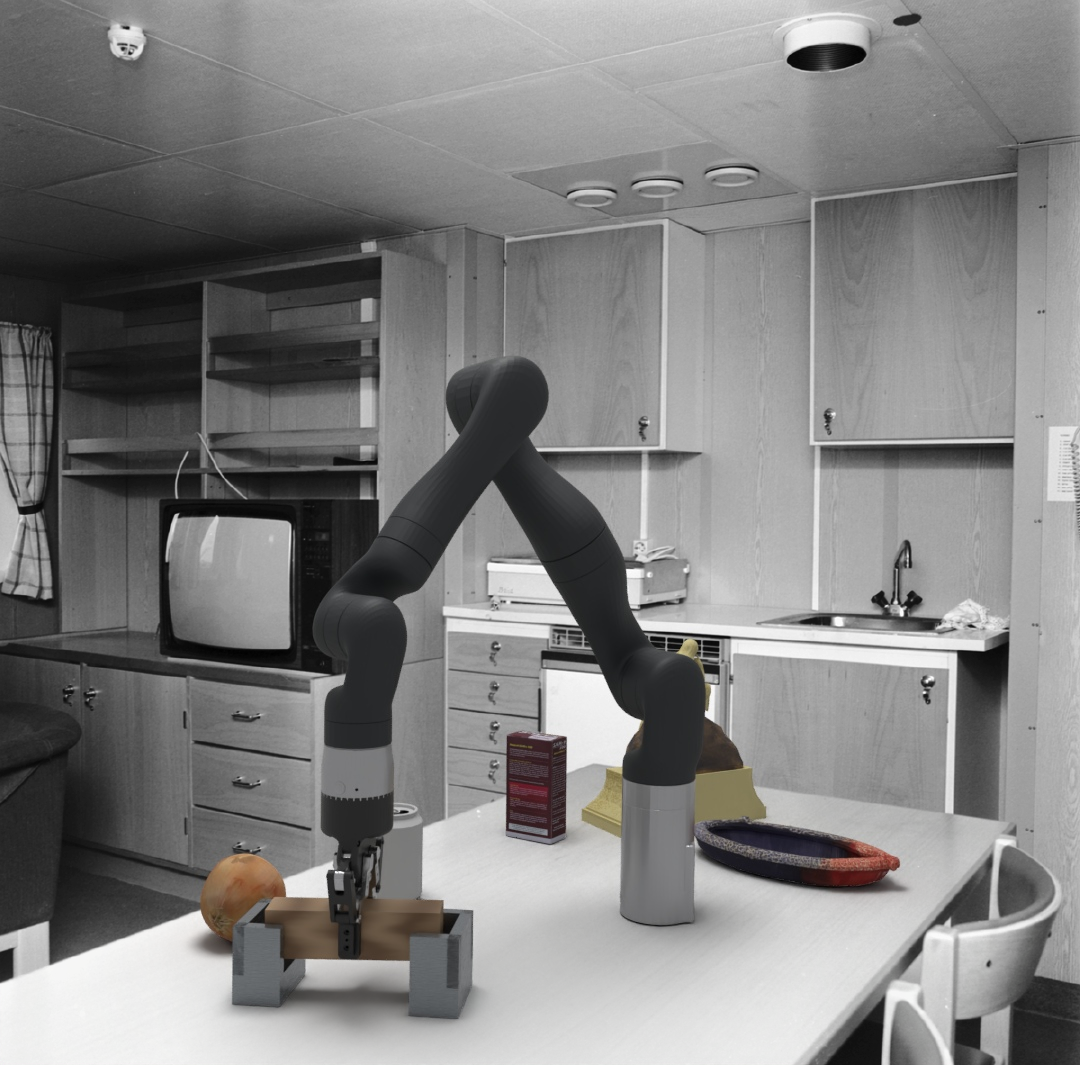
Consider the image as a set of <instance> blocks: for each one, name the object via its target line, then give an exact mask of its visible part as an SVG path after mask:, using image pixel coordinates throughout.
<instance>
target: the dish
mask: <svg viewBox="0 0 1080 1065" xmlns="http://www.w3.org/2000/svg"><path fill="white" fill-rule="evenodd" d="M694 839H696V843H697V845H698V846H699V848H700V849H701V851H702V852H703V853H704V854H705V855H706V856H708V857H709V858H712V859H714V860H715V861H718V862H720V863H722V864H724V865H727V866H729V867H731V868H734V869H737V870H739V871H744V872H746V873H749V874H754V875H756V876H757V875H758V876H761V877H765V878H771V879H775V880H781V881H785V882H789V883H790V882H791V883H796V884H802V885H803V884H804V885H809V886H818V887H857V886H865V885H869V884H872V883H876V882H879V881H881V880H882V879H883V878H884V877H886V876H887V875H888V873H889V872H890V871H892V872H896V871H898V869H899V868H900V866H901V860H900V858H899V857H898V856H895V855H891V854H889V853H888V852H886V851H884V850H883V849H880V848H879V847H876V846H874V845H871V844H868V843H866V842H862V841H859V840H857V839H854V838H850V837H846V836H842V835H837V834H834V833H829V832H824V831H819V830H814V829H808V828H803V827H798V826H792V825H786V824H779V823H773V822H772V823H771V822H767V821H766V822H764V821H757V820H750V818H749V817H748V816H742V817H741V818H739V819H725V820H707V821H701V822H698V823H696V824H695V830H694Z"/></svg>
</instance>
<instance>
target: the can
mask: <svg viewBox="0 0 1080 1065" xmlns="http://www.w3.org/2000/svg"><path fill="white" fill-rule="evenodd" d="M418 811H419V808H418V807H417V805H416V806H415V805H414V804H410V803H406V802H405V803H404V802H394V818H393V828H392V830H391V831H390V832H389V833H387V834H386V835H383V837H384V845H383V858H382V870H381V882H380V885H381V889H380V891H379V893H376V897H377V898H376V899H417V900H418V898H420V896H422V893H423V851H424V850H423V847H424V846H423V845H424V843H423V842H424V840H423V839H424V819H423V818H422V817H421V815H420V814H419V813H418ZM370 875H371V873H370Z"/></svg>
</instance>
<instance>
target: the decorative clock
mask: <svg viewBox="0 0 1080 1065" xmlns="http://www.w3.org/2000/svg"><path fill="white" fill-rule="evenodd" d="M698 651H699V645H698V642H697V641H696V640H695V639H693V638H688V639H686V640H685V641H684V642H683V643H682V646H680V649H679V650H678V651H677V652H676V653H679V654H683V655H686V656H688V657H690V658H692V659H693V660H694V661H695V662H696V663H697V664H698V665H699V667H700V668H701V670H702V673H703V676H704V680H705V681H706V674H705V669H704V665H703V663H702V661H701V658H700V656H699V655H698V654H697V653H698ZM695 656H696V657H695ZM705 687H706V708H705V712H709V709H710V708H709V707H710V696H711V693H712V686H711V684H710V683H707V682H705ZM643 725H644V721H642V720H640V723H639V726H638V730H637V731H636V732H635V733H634V735H633V736H632V737H631V738H630V741H629V742H628V744H627V745H626V749H625V754H626V753H627V752H629V751H631V750H634V749H638V748H639V747H640V745H641V743H642V736H643ZM625 754H624V755H625ZM753 779H754V778H753V767H751V766H747V765H744V761H743V759H742V757H741V755H740V752H739V749H738V748H737V745H735V743H734V742H733V740H731V739H730V737H729V736H728V735H727V734H726V733H724V730H723V728H722V726H720V725H719V724H717V723H716V722H714V721H713V720H711V719H709V718H708V717H707V716H705V722H704V736H703V748H702V753H701V757H700V759H699V762H698V764H697V767H696V778H695V824H696V823H698V822H701V821H707V820H725V819H739V818H741V817H742V816H748V817H749V818H750V820H754V821H757V820H761V819H767V806H766V805H765V804H764V803H763V802H762V800H761V798H759V795H757V791H756V789H755V786H754V780H753ZM621 817H622V766H615V767H607V768H605V780H604V784H603V787H602V789H601V790H600V792H599V793H598V795H597V796H596V797H595V798H594V799H593V800H592V801H590V802H589V803H588V804H587V805H586V806H585V807H584V808H581V822H582V821H583V822H585V823H587V824H589V825H591V826H594V827H596V828H597V829H600V830H601V831H605V832H607V833H609V834H610V835H614V836H616V837H618V838H620V839H621Z"/></svg>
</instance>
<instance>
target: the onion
mask: <svg viewBox="0 0 1080 1065" xmlns="http://www.w3.org/2000/svg"><path fill="white" fill-rule="evenodd" d="M286 890H287V889H286V885H285V882H284V879H283V877H282V876H281V874H280V872H279V870H278V869H277V868H276V867H275V866H274V865H272V863H270V862H269V861H268V860H266V858H263V857H261V856H258V855H255V854H252V853H238V854H234V855H229V856H226V857H224V858H222V859H220V860H219V861H218V862H217V864H215V866H214V867H213V868H212V870H211V871H210V873H209V874H208V876H207V878H206V880H205V882H204V884H203V887H202V890H201V894H200V913H201V916H202V919H203V920H204V922H205V925H207V927H208V928H209V929H210V930H211V931H213V933H215V934H216V935H217V936H218V937H220V938H222V939H225V940H226V941H229V942H233V926H234V925H235V924H236V923H237V922H238V921H239V920H240V919H241V918H242V917H243V916H244V915H245V914H246V913H247V912H248V911H249V910H250V909H251V908H252V907H253V906H254V905H255V904H257V903H258V902H259V901H260V900H261V899H273V898H274V897H287V891H286Z"/></svg>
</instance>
